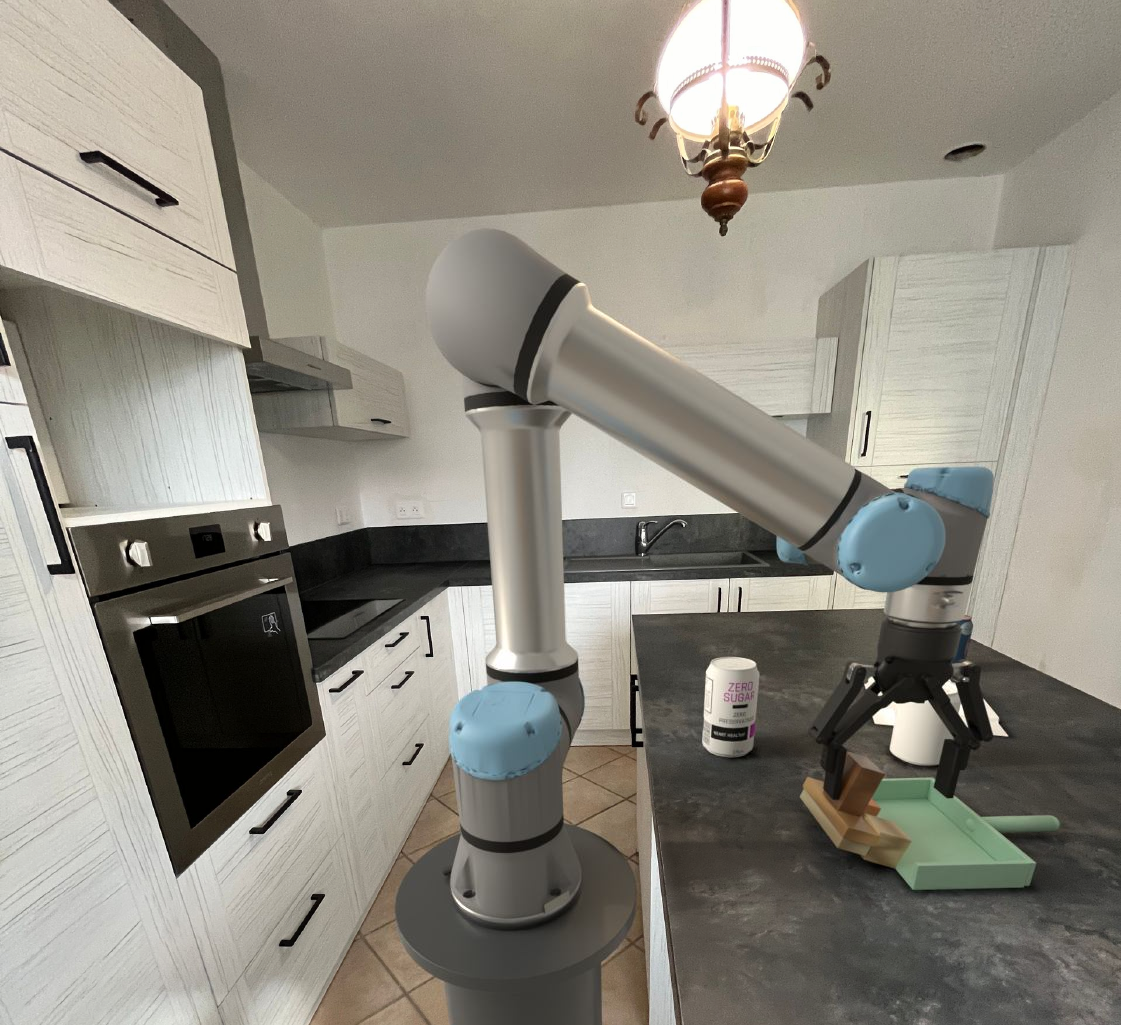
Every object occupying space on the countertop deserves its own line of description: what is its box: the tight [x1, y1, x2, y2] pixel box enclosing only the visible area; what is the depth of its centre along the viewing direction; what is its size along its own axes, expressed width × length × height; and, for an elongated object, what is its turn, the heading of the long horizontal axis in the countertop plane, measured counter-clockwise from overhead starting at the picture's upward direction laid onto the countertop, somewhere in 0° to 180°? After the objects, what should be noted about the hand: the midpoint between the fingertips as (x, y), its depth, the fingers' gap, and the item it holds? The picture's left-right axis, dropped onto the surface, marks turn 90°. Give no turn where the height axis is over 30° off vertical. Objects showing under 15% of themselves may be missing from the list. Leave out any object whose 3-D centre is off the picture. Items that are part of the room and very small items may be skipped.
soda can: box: [952, 614, 974, 664], centre depth 131 cm, size 7×7×12 cm
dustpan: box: [872, 777, 1061, 891], centre depth 73 cm, size 23×19×3 cm
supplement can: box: [701, 656, 760, 758], centre depth 96 cm, size 8×8×15 cm
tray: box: [863, 677, 1009, 737], centre depth 114 cm, size 20×28×4 cm
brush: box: [799, 750, 886, 856], centre depth 71 cm, size 4×12×9 cm, turn 179°
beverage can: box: [889, 682, 961, 767], centre depth 91 cm, size 8×8×12 cm
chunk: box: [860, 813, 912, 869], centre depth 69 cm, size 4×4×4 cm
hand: (886, 793), depth 71 cm, fingers open, 13 cm apart
